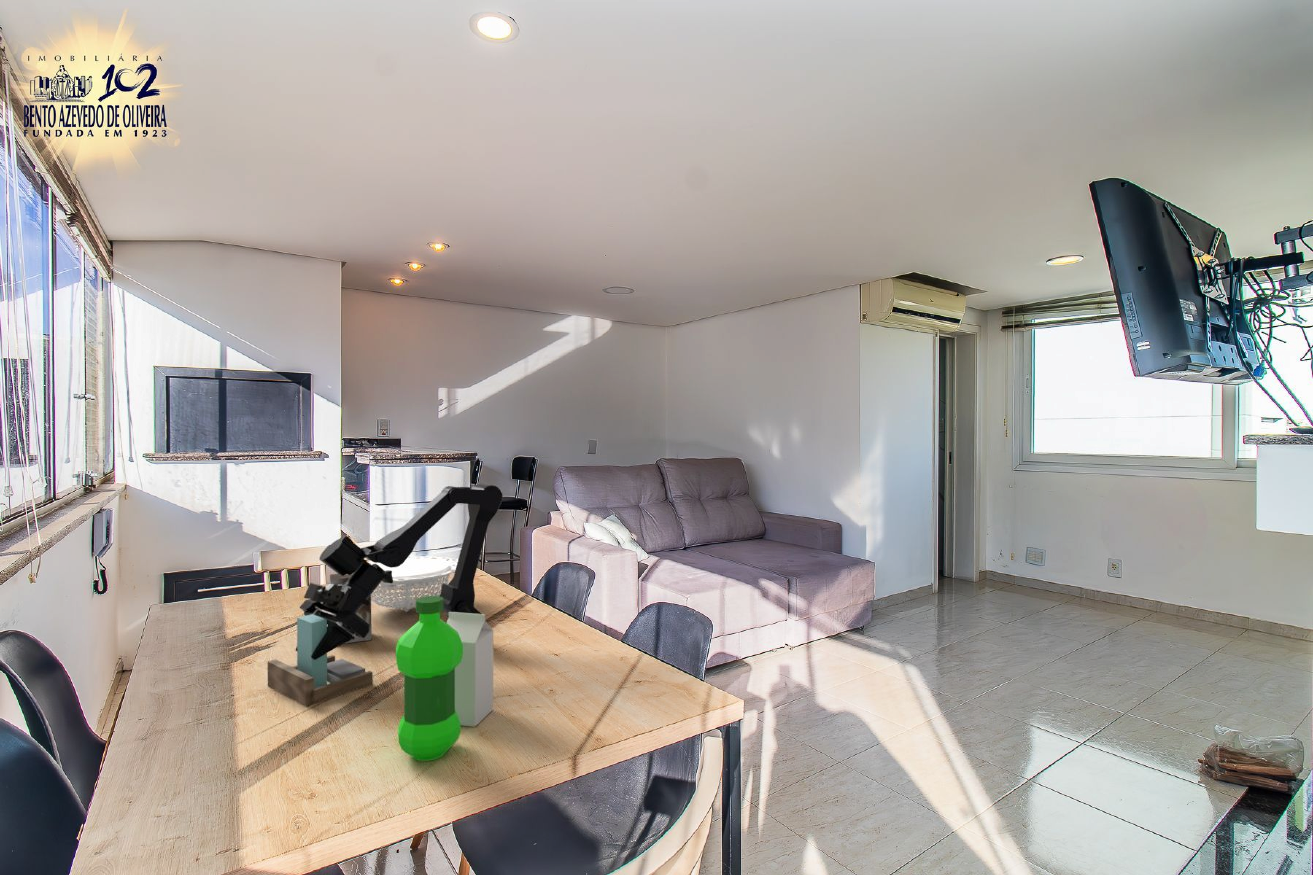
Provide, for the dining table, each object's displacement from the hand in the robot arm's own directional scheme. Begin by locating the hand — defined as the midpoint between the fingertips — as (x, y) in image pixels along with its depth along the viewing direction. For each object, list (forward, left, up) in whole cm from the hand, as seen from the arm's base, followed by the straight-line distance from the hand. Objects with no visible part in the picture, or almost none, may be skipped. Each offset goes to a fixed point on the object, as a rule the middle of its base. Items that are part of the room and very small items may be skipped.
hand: (304, 655), depth 129 cm
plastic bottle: (-39, +13, -7) cm, 42 cm away
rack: (-1, -3, -7) cm, 8 cm away
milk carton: (-37, 0, -7) cm, 38 cm away
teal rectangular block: (0, -1, -7) cm, 7 cm away
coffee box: (+15, -27, -7) cm, 32 cm away
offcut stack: (-2, -7, -7) cm, 10 cm away
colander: (+18, -51, -7) cm, 55 cm away
